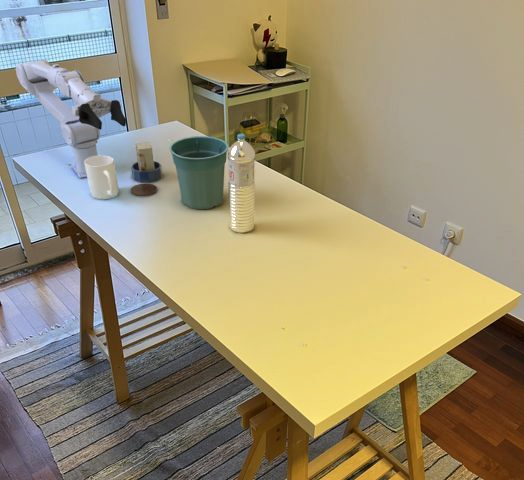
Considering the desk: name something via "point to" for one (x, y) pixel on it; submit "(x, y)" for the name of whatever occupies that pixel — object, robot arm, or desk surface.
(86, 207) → the desk surface
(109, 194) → the cup
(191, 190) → the flower pot
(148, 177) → the blue ring
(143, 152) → the drug facts carton
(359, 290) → the desk surface
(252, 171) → the water bottle
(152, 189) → the walnut coaster
